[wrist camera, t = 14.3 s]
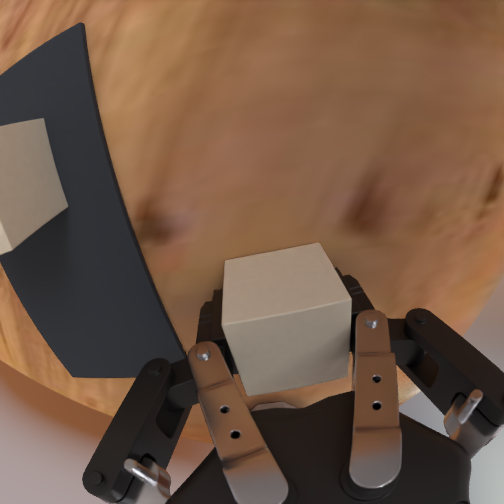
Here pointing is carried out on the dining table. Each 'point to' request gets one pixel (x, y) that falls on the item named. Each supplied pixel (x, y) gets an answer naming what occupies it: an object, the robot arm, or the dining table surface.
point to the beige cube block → (286, 319)
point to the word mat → (82, 228)
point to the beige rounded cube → (26, 182)
